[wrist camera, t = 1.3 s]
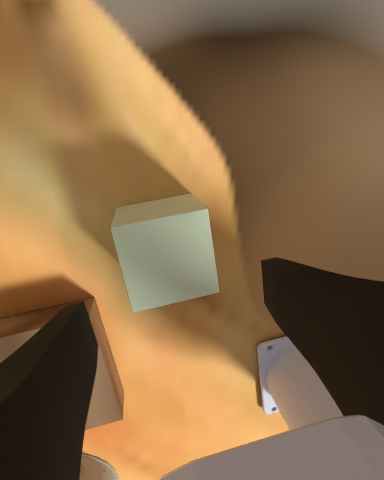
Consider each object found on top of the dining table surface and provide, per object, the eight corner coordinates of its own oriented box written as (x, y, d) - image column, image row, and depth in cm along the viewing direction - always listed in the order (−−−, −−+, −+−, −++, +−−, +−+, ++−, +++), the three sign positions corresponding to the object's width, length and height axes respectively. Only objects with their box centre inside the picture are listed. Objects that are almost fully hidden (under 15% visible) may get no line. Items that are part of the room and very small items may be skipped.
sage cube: (190, 193, 19) (207, 208, 15) (200, 259, 21) (219, 292, 16) (116, 207, 19) (110, 228, 14) (133, 274, 21) (132, 313, 16)
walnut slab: (94, 297, 20) (89, 316, 18) (123, 392, 23) (122, 419, 21) (-42, 328, 19) (-66, 353, 17) (8, 423, 22) (-7, 455, 20)
